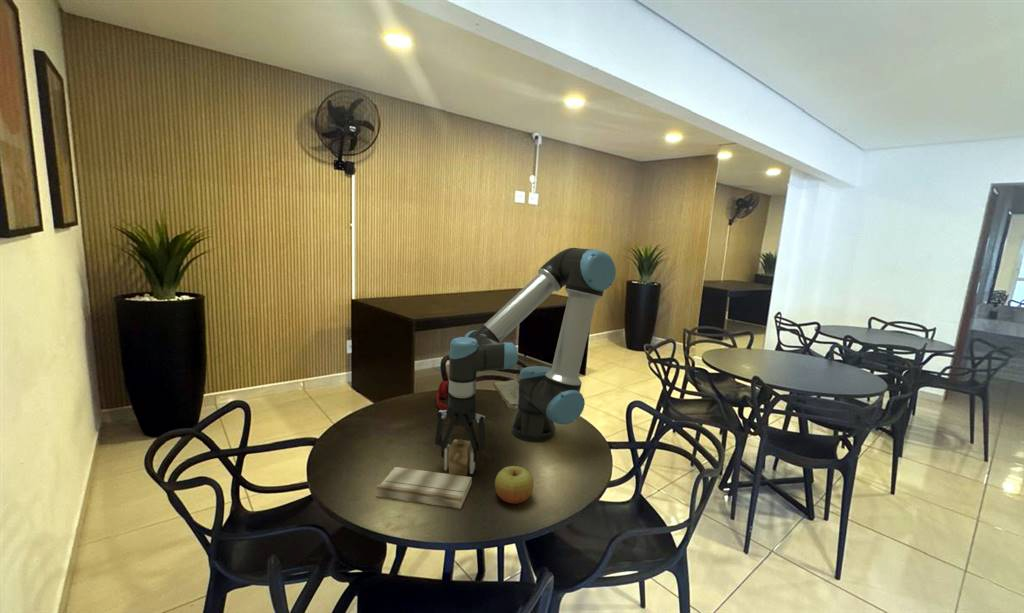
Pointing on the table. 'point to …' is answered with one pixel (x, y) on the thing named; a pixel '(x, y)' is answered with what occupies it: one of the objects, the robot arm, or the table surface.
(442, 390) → the headphones
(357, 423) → the table surface
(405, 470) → the board
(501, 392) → the stone slab
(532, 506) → the table surface
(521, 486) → the apple
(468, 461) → the beige wooden block
